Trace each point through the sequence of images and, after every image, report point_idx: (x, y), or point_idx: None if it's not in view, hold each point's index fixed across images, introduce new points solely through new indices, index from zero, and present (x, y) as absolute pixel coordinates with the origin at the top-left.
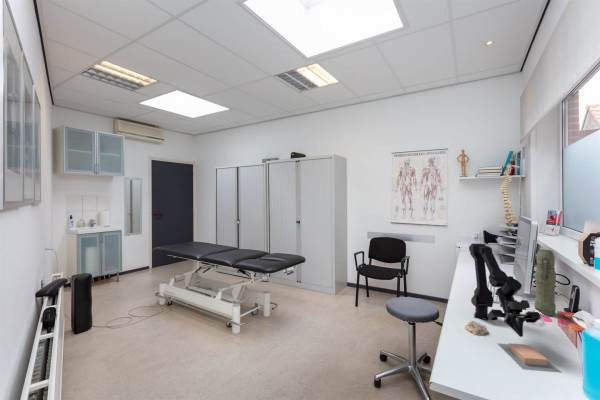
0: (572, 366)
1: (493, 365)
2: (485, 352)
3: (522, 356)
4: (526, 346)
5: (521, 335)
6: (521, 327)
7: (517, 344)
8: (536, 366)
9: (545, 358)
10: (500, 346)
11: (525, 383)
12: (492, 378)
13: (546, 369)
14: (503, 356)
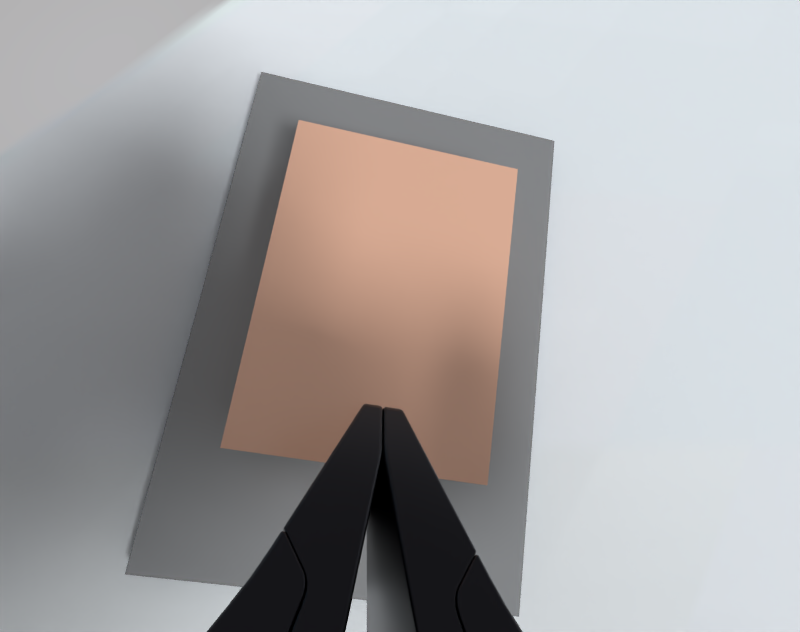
0: (30, 167)
1: (726, 229)
2: (705, 427)
3: (511, 205)
4: (308, 399)
5: (388, 410)
6: (323, 533)
7: None
8: None
9: (302, 141)
10: (522, 530)
11: (619, 32)
12: (793, 97)
13: (361, 118)
14: (578, 355)
